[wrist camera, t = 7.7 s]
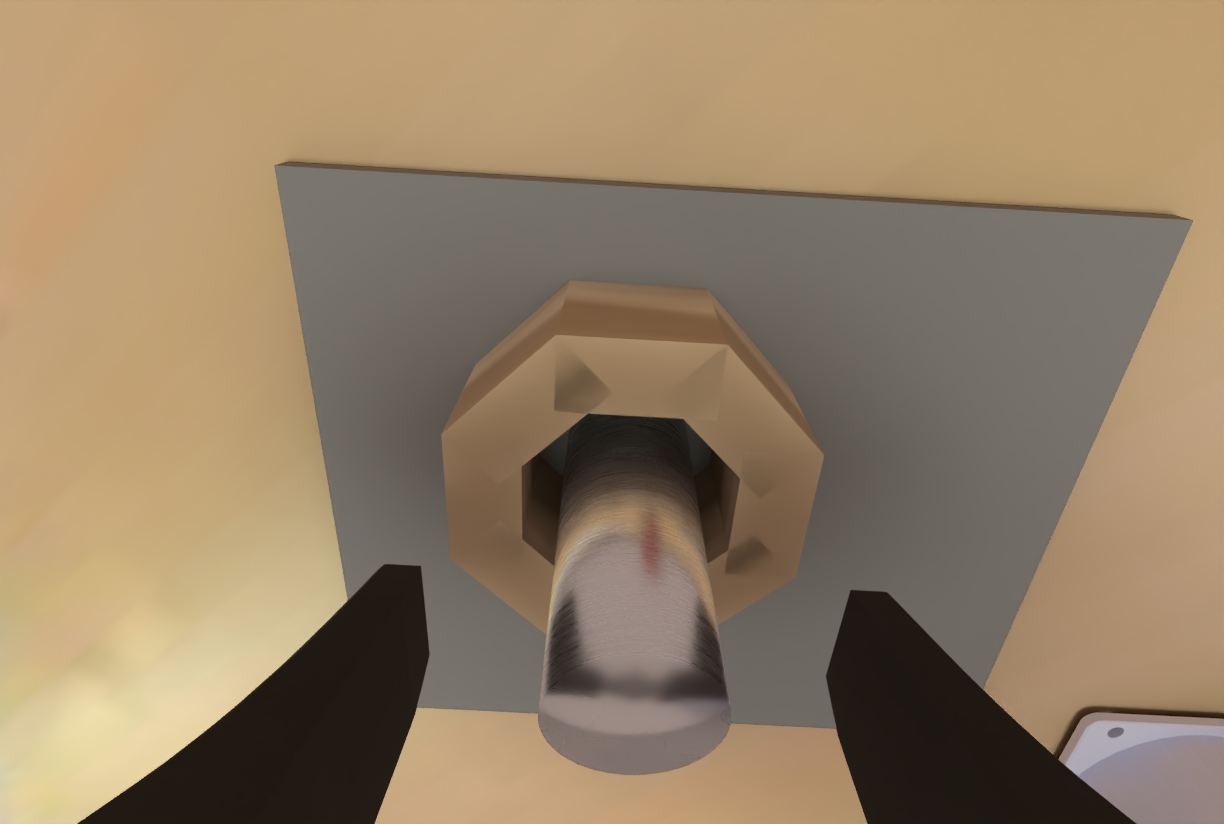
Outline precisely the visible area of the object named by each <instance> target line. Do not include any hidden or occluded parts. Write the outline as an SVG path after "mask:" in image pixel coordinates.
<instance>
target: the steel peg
mask: <svg viewBox="0 0 1224 824" xmlns="http://www.w3.org/2000/svg"><path fill="white" fill-rule="evenodd" d="M538 722H539V727H540V730H541V732H542V734H543V736H544V738H545V739H546V741H547V742H548V743H549V744H550V745H551V746H552V748H553V749H555V750H556V751H557V752H558V753H559V754H561V755H562V756H564V757H566V758H567V759H569V760H571V761H573V762H575V763H577V764H579V765H582V766H584V767H587V768H590V769H594V770H597V771H602V772H607V773H614V774H624V775H645V774H654V773H661V772H666V771H670V770H674V769H678V768H681V767H684V766H686V765H689V764H691V763H693V762H695V761H698V760H699V759H701V758H703V757H704V756H706V755H707V754H709V753H710V752H711V751H713V750H714V749H715V748H716V747H717V746H718V745H719V744H720V743H721V742H722V740H723V739H724V738H725V736H726V734H727V732H728V730H729V727H730V724H731V708H730V702H729V695H728V689H727V683H726V676H725V670H724V664H723V658H722V651H721V645H720V639H719V633H718V626H717V620H716V614H715V607H714V601H713V595H712V589H711V582H710V576H709V570H708V563H707V557H706V551H705V545H704V538H703V532H702V526H701V520H700V513H699V507H698V501H697V494H696V488H695V482H694V476H693V469H692V463H691V457H690V451H689V444H688V438H687V432H686V426H685V420H684V419H679V418H661V417H643V416H625V415H607V414H589V413H588V414H587V415H586V416H584V417H583V418H582V419H581V420H579V421H578V422H577V423H576V424H574V425H573V426H572V427H571V428H569V435H568V444H567V453H566V462H565V471H564V481H563V490H562V499H561V508H560V517H559V526H558V536H557V545H556V554H555V563H554V572H553V582H552V591H551V600H550V609H549V618H548V628H547V637H546V646H545V655H544V664H543V674H542V683H541V692H540V701H539V710H538Z"/></svg>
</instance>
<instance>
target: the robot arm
mask: <svg viewBox="0 0 1224 824" xmlns="http://www.w3.org/2000/svg"><path fill="white" fill-rule="evenodd" d="M429 656H430V652H429V642H428V632H427V622H426V612H425V601H424V591H423V581H422V571H421V566H413V565H395V564H384V565H383V566H382V567H380V568H379V569H378V570H377V571H376V572H375V573H374V574H373V575H372V576H371V577H370V578H369V579H368V580H367V581H366V582H365V583H364V584H363V586H362V587H361V588H360V589H359V590H358V591H357V592H356V593H355V594H354V595H353V596H352V597H351V598H350V599H349V600H348V601H347V602H346V603H345V604H344V605H343V606H342V607H341V608H340V609H339V610H338V611H337V612H336V613H335V614H334V615H333V616H332V617H331V618H330V619H329V620H328V621H327V622H326V623H325V624H324V625H323V626H322V627H321V628H320V629H319V630H318V631H317V632H316V633H315V634H314V635H313V636H312V637H311V638H310V639H309V640H308V641H307V642H306V643H305V644H304V645H303V646H302V647H301V648H300V649H299V650H298V651H297V652H295V653H294V654H293V655H292V656H291V657H290V658H289V659H288V660H287V661H286V662H285V663H284V664H283V665H282V666H281V667H280V668H278V669H277V670H276V671H275V672H274V673H273V674H272V675H271V676H269V677H268V678H267V679H266V680H265V681H264V682H263V683H261V684H260V685H259V686H258V687H257V688H256V689H255V690H254V691H252V692H251V693H250V694H249V695H248V696H247V697H246V698H245V699H243V700H242V701H241V702H240V703H239V704H238V705H237V706H235V707H234V708H233V709H232V710H231V711H229V712H228V713H227V714H226V715H225V716H223V717H222V718H221V719H220V720H219V721H217V722H216V723H215V724H214V725H212V726H211V727H210V728H209V729H208V730H206V731H205V732H204V733H203V734H201V735H200V736H199V737H197V738H196V739H195V740H194V741H192V742H191V743H190V744H188V745H187V746H186V747H185V748H183V749H182V750H181V751H179V752H178V753H177V754H176V755H174V756H173V757H172V758H170V759H169V760H168V761H166V762H165V763H164V764H162V765H161V766H159V767H158V768H157V769H155V770H154V771H152V772H151V773H150V774H148V775H147V776H145V777H144V778H143V779H141V780H140V781H139V782H137V783H136V784H134V785H133V786H131V787H130V788H128V789H127V790H126V791H124V792H123V793H121V794H120V795H118V796H117V797H115V798H114V799H113V800H111V801H110V802H108V803H107V804H105V805H104V806H102V807H101V808H99V809H98V810H97V811H95V812H94V813H92V814H91V815H89V816H88V817H86V818H85V819H84V820H82V821H80V822H79V823H77V824H374V823H375V821H376V818H377V815H378V813H379V810H380V807H381V805H382V802H383V799H384V797H385V794H386V791H387V789H388V786H389V783H390V781H391V778H392V775H393V773H394V770H395V767H396V765H397V762H398V759H399V756H400V754H401V751H402V748H403V746H404V743H405V740H406V737H407V735H408V732H409V729H410V727H411V724H412V721H413V718H414V715H415V712H416V708H417V704H418V701H419V697H420V693H421V689H422V685H423V681H424V676H425V672H426V668H427V664H428V660H429ZM826 680H827V685H828V690H829V695H830V700H831V705H832V710H833V715H834V719H835V724H836V728H837V732H838V737H839V740H840V743H841V746H842V749H843V752H844V755H845V758H846V761H847V764H848V767H849V770H850V773H851V776H852V779H853V782H854V785H855V788H856V791H857V794H858V797H859V800H860V803H861V806H862V809H863V812H864V814H865V817H866V820H867V823H868V824H1224V719H1218V718H1199V717H1179V716H1160V715H1140V714H1120V713H1101V712H1097V713H1091V714H1088V715H1086V716H1084V717H1083V718H1082V719H1081V720H1080V722H1079V724H1078V725H1077V727H1076V729H1075V731H1074V732H1073V734H1072V736H1071V738H1070V740H1069V741H1068V743H1067V745H1066V747H1065V748H1064V750H1063V752H1062V754H1061V756H1060V757H1059V759H1057V758H1056V757H1055V756H1054V755H1053V754H1051V753H1050V752H1049V751H1048V750H1047V749H1046V748H1045V747H1044V746H1043V745H1042V744H1040V743H1039V742H1038V741H1037V740H1036V739H1035V738H1034V737H1033V736H1032V735H1030V734H1029V733H1028V732H1027V731H1026V730H1025V729H1024V728H1023V727H1022V726H1021V725H1019V724H1018V723H1017V722H1016V721H1015V720H1014V719H1013V718H1012V717H1011V716H1010V715H1009V714H1008V713H1007V712H1006V711H1004V710H1003V709H1002V708H1001V707H1000V706H999V705H998V704H997V703H996V702H995V701H994V700H993V699H992V698H991V697H990V696H989V695H988V694H987V693H986V692H985V691H984V690H983V689H982V688H981V687H980V686H979V685H978V684H977V683H976V682H975V681H974V680H973V679H972V678H971V677H970V676H969V675H968V674H967V673H966V672H965V671H964V670H963V669H962V668H961V667H960V666H959V665H958V664H957V663H956V662H955V661H954V660H953V659H952V658H951V657H950V656H949V655H948V654H947V653H946V652H945V651H944V650H943V649H942V648H941V647H940V646H939V645H938V644H937V643H936V642H935V641H934V640H933V639H932V638H931V637H930V636H929V635H928V633H927V632H926V631H925V630H924V629H923V628H922V627H921V626H920V625H919V624H918V623H917V622H916V621H915V620H914V619H913V618H912V617H911V616H910V615H909V614H908V613H907V612H906V611H905V610H904V609H903V608H902V606H901V605H900V604H899V603H898V602H897V601H896V600H895V599H894V598H893V597H892V596H891V595H890V594H889V593H888V592H882V591H864V590H850V593H849V597H848V600H847V604H846V607H845V611H844V614H843V618H842V621H841V625H840V628H839V632H838V635H837V639H836V642H835V646H834V649H833V653H832V656H831V660H830V663H829V667H828V670H827V674H826Z"/></svg>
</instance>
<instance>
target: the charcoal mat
mask: <svg viewBox="0 0 1224 824" xmlns="http://www.w3.org/2000/svg"><path fill="white" fill-rule="evenodd" d="M274 166H275V172H276V178H277V184H278V190H279V195H280V201H281V207H282V213H283V219H284V225H285V231H286V237H287V243H288V249H289V255H290V260H291V266H292V272H293V278H294V284H295V290H296V296H297V302H298V308H299V314H300V320H301V325H302V331H303V337H304V343H305V349H306V355H307V361H308V367H309V373H310V379H311V385H312V390H313V396H314V402H315V408H316V414H317V420H318V426H319V432H320V438H321V444H322V450H323V455H324V461H325V467H326V473H327V479H328V485H329V491H330V497H331V503H332V509H333V515H334V520H335V526H336V532H337V538H338V544H339V550H340V556H341V562H342V568H343V574H344V580H345V585H346V591H347V597H348V600H349V599H350V598H351V597H352V596H353V595H354V594H355V593H356V592H357V591H358V590H359V589H360V588H361V587H362V586H363V584H364V583H365V582H366V581H367V580H368V579H369V578H370V577H371V576H372V575H373V574H374V573H375V572H376V571H377V570H378V569H379V568H380V567H382V566H383V565H384V564H395V565H413V566H421V571H422V581H423V591H424V601H425V612H426V622H427V632H428V642H429V652H430V656H429V660H428V664H427V668H426V672H425V676H424V681H423V685H422V689H421V693H420V697H419V701H418V704H417V707H419V708H439V709H459V710H478V711H498V712H518V713H538V710H539V701H540V692H541V683H542V674H543V664H544V655H545V646H546V637H547V635H546V634H544V633H543V632H542V631H541V630H539V629H538V628H537V627H535V626H534V625H533V624H532V623H530V622H529V621H528V620H527V619H525V618H524V617H523V616H522V615H520V614H519V613H518V612H516V611H515V610H514V609H513V608H511V607H510V606H509V605H508V604H506V603H505V602H504V601H503V600H501V599H500V598H499V597H497V596H496V595H495V594H494V593H492V592H491V591H490V590H489V589H487V588H486V587H485V586H484V585H482V584H481V583H480V582H479V581H477V580H476V579H475V578H473V577H472V576H471V575H470V574H468V573H467V572H466V571H465V570H463V569H462V568H461V567H460V566H458V565H457V564H456V563H454V562H453V561H452V560H451V559H450V548H449V534H448V521H447V507H446V493H445V479H444V466H443V452H442V438H441V433H442V431H443V429H444V427H445V425H446V423H447V421H448V419H449V417H450V415H451V413H452V411H453V409H454V407H455V405H456V403H457V401H458V399H459V397H460V395H461V393H462V391H463V389H464V387H465V385H466V383H467V381H468V379H469V377H470V374H471V372H472V370H473V368H474V366H475V364H477V363H478V362H479V361H480V360H481V359H482V358H483V357H484V356H485V355H487V354H488V353H489V352H490V351H491V350H492V349H493V348H494V347H495V346H497V345H498V344H499V343H500V342H501V341H502V340H503V339H504V338H506V337H507V336H508V335H509V334H510V333H511V332H512V331H513V330H514V329H516V328H517V327H518V326H519V325H520V324H521V323H522V322H523V321H524V320H526V319H527V318H528V317H529V316H530V315H531V314H532V313H533V312H535V311H536V310H537V309H538V308H539V307H540V306H541V305H542V304H543V303H545V302H546V301H547V300H548V299H549V298H550V297H551V296H552V295H554V294H555V293H556V292H557V291H558V290H559V289H560V288H561V287H562V286H564V285H565V284H566V283H567V282H568V281H569V280H573V281H590V282H607V283H624V284H642V285H659V286H676V287H693V288H707V289H708V290H709V291H710V292H711V294H712V295H713V296H714V297H715V298H716V299H717V301H718V302H719V303H720V304H721V305H722V306H723V308H724V309H725V310H726V311H727V312H728V314H729V315H730V316H731V317H732V318H733V319H734V321H735V322H736V323H737V324H738V325H739V326H740V328H741V329H742V330H743V331H744V332H745V333H746V335H747V336H748V337H749V338H750V339H751V341H752V342H753V343H754V344H755V345H756V346H757V348H758V349H759V350H760V351H761V352H762V353H763V355H764V356H765V357H766V358H767V359H768V360H769V362H770V363H771V364H772V365H773V366H774V368H775V369H776V370H777V371H778V372H779V373H780V375H781V376H782V377H783V378H784V379H785V380H786V382H787V383H788V385H789V387H790V389H791V391H792V393H793V395H794V397H795V399H796V401H797V403H798V405H799V407H800V409H801V410H802V412H803V414H804V416H805V418H806V420H807V422H808V424H809V426H810V428H811V430H812V432H813V434H814V436H815V438H816V440H817V442H818V444H819V446H820V448H821V450H822V452H823V454H824V459H823V463H822V467H821V472H820V476H819V480H818V484H817V489H816V493H815V497H814V501H813V506H812V510H811V514H810V518H809V523H808V527H807V531H806V535H805V540H804V544H803V548H802V552H801V557H800V561H799V565H798V569H797V573H796V578H794V579H792V580H791V581H789V582H787V583H786V584H784V585H783V586H781V587H779V588H778V589H776V590H774V591H773V592H771V593H769V594H768V595H766V596H764V597H763V598H761V599H760V600H758V601H756V602H755V603H753V604H751V605H750V606H748V607H746V608H745V609H743V610H742V611H740V612H738V613H737V614H735V615H733V616H732V617H730V618H728V619H727V620H725V621H723V622H722V623H720V624H719V625H717V626H718V633H719V639H720V645H721V651H722V658H723V664H724V670H725V676H726V683H727V689H728V695H729V702H730V708H731V723H735V724H755V725H775V726H795V727H814V728H834V729H837V728H836V724H835V719H834V715H833V710H832V705H831V700H830V695H829V690H828V685H827V680H826V674H827V670H828V667H829V663H830V660H831V656H832V653H833V649H834V646H835V642H836V639H837V635H838V632H839V628H840V625H841V621H842V618H843V614H844V611H845V607H846V604H847V600H848V597H849V593H850V590H864V591H882V592H888V593H889V594H890V595H891V596H892V597H893V598H894V599H895V600H896V601H897V602H898V603H899V604H900V605H901V606H902V608H903V609H904V610H905V611H906V612H907V613H908V614H909V615H910V616H911V617H912V618H913V619H914V620H915V621H916V622H917V623H918V624H919V625H920V626H921V627H922V628H923V629H924V630H925V631H926V632H927V633H928V635H929V636H930V637H931V638H932V639H933V640H934V641H935V642H936V643H937V644H938V645H939V646H940V647H941V648H942V649H943V650H944V651H945V652H946V653H947V654H948V655H949V656H950V657H951V658H952V659H953V660H954V661H955V662H956V663H957V664H958V665H959V666H960V667H961V668H962V669H963V670H964V671H965V672H966V673H967V674H968V675H969V676H970V677H971V678H972V679H973V680H974V681H975V682H976V683H977V684H978V685H979V686H980V687H981V688H982V689H983V688H984V686H985V683H986V681H987V679H988V677H989V675H990V672H991V670H992V668H993V666H994V663H995V661H996V659H997V657H998V654H999V652H1000V650H1001V648H1002V646H1003V643H1004V641H1005V639H1006V637H1007V634H1008V632H1009V630H1010V628H1011V625H1012V623H1013V621H1014V619H1015V617H1016V614H1017V612H1018V610H1019V608H1020V605H1021V603H1022V601H1023V599H1024V597H1025V594H1026V592H1027V590H1028V588H1029V585H1030V583H1031V581H1032V579H1033V576H1034V574H1035V572H1036V570H1037V568H1038V565H1039V563H1040V561H1041V559H1042V556H1043V554H1044V552H1045V550H1046V548H1047V545H1048V543H1049V541H1050V539H1051V536H1052V534H1053V532H1054V530H1055V527H1056V525H1057V523H1058V521H1059V519H1060V516H1061V514H1062V512H1063V510H1064V507H1065V505H1066V503H1067V501H1068V499H1069V496H1070V494H1071V492H1072V490H1073V487H1074V485H1075V483H1076V481H1077V478H1078V476H1079V474H1080V472H1081V470H1082V467H1083V465H1084V463H1085V461H1086V458H1087V456H1088V454H1089V452H1090V449H1091V447H1092V445H1093V443H1094V441H1095V438H1096V436H1097V434H1098V432H1099V429H1100V427H1101V425H1102V423H1103V421H1104V418H1105V416H1106V414H1107V412H1108V409H1109V407H1110V405H1111V403H1112V400H1113V398H1114V396H1115V394H1116V392H1117V389H1118V387H1119V385H1120V383H1121V380H1122V378H1123V376H1124V374H1125V372H1126V369H1127V367H1128V365H1129V363H1130V360H1131V358H1132V356H1133V354H1134V351H1135V349H1136V347H1137V345H1138V343H1139V340H1140V338H1141V336H1142V334H1143V331H1144V329H1145V327H1146V325H1147V322H1148V320H1149V318H1150V316H1151V314H1152V311H1153V309H1154V307H1155V305H1156V302H1157V300H1158V298H1159V296H1160V294H1161V291H1162V289H1163V287H1164V285H1165V282H1166V280H1167V278H1168V276H1169V273H1170V271H1171V269H1172V267H1173V265H1174V262H1175V260H1176V258H1177V256H1178V253H1179V251H1180V249H1181V247H1182V245H1183V242H1184V240H1185V238H1186V236H1187V233H1188V231H1189V229H1190V227H1191V224H1192V222H1193V220H1190V219H1186V218H1183V217H1179V216H1176V215H1167V214H1150V213H1134V212H1117V211H1100V210H1084V209H1067V208H1050V207H1033V206H1017V205H1000V204H983V203H967V202H950V201H933V200H916V199H900V198H883V197H866V196H850V195H833V194H816V193H799V192H783V191H766V190H749V189H733V188H716V187H699V186H682V185H666V184H649V183H632V182H616V181H599V180H582V179H565V178H549V177H532V176H515V175H499V174H482V173H465V172H449V171H432V170H415V169H398V168H382V167H365V166H348V165H332V164H315V163H298V162H285V163H281V164H278V165H274ZM685 426H686V432H687V438H688V444H689V451H690V457H691V463H692V469H693V476H695V475H696V474H698V473H699V472H701V471H702V470H704V469H705V468H706V467H708V466H709V465H710V461H711V454H712V448H711V447H710V446H709V445H708V444H707V443H706V442H705V441H704V440H703V439H702V438H701V437H700V436H699V435H698V434H697V433H696V432H695V431H694V430H693V429H692V427H691V426H690V425H689V424H688V423H687V422H686V421H685ZM568 435H569V429H568V430H567V431H566V432H564V433H563V434H562V435H561V436H559V437H558V438H557V439H556V440H554V441H553V442H552V443H551V444H549V445H548V446H547V447H546V448H544V449H543V450H542V451H541V452H540V456H541V457H542V458H543V459H544V460H545V461H546V462H548V463H549V464H550V465H551V466H552V467H553V468H554V469H555V470H556V471H557V472H558V473H560V474H561V475H562V476H563V477H564V471H565V462H566V453H567V444H568Z"/></svg>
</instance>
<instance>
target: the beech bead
mask: <svg viewBox="0 0 1224 824" xmlns="http://www.w3.org/2000/svg"><path fill="white" fill-rule="evenodd" d="M588 413H589V414H607V415H625V416H643V417H661V418H679V419H684V420H685V421H686V422H687V423H688V424H689V425H690V426H691V427H692V429H693V430H694V431H695V432H696V433H697V434H698V435H699V436H700V437H701V438H702V439H703V440H704V441H705V442H706V443H707V444H708V445H709V446H710V447H711V448H712V454H711V461H710V465H709V466H708V467H706V468H705V469H704V470H702V471H701V472H699V473H698V474H696V475H695V476H694V482H695V488H696V494H697V501H698V507H699V513H700V520H701V526H702V532H703V538H704V545H705V551H706V557H707V563H708V570H709V576H710V582H711V589H712V595H713V601H714V607H715V614H716V620H717V625H719V624H720V623H722V622H723V621H725V620H727V619H728V618H730V617H732V616H733V615H735V614H737V613H738V612H740V611H742V610H743V609H745V608H746V607H748V606H750V605H751V604H753V603H755V602H756V601H758V600H760V599H761V598H763V597H764V596H766V595H768V594H769V593H771V592H773V591H774V590H776V589H778V588H779V587H781V586H783V585H784V584H786V583H787V582H789V581H791V580H792V579H794V578H796V573H797V569H798V565H799V561H800V557H801V552H802V548H803V544H804V540H805V535H806V531H807V527H808V523H809V518H810V514H811V510H812V506H813V501H814V497H815V493H816V489H817V484H818V480H819V476H820V472H821V467H822V463H823V459H824V454H823V452H822V450H821V448H820V446H819V444H818V442H817V440H816V438H815V436H814V434H813V432H812V430H811V428H810V426H809V424H808V422H807V420H806V418H805V416H804V414H803V412H802V410H801V409H800V407H799V405H798V403H797V401H796V399H795V397H794V395H793V393H792V391H791V389H790V387H789V385H788V383H787V382H786V380H785V379H784V378H783V377H782V376H781V375H780V373H779V372H778V371H777V370H776V369H775V368H774V366H773V365H772V364H771V363H770V362H769V360H768V359H767V358H766V357H765V356H764V355H763V353H762V352H761V351H760V350H759V349H758V348H757V346H756V345H755V344H754V343H753V342H752V341H751V339H750V338H749V337H748V336H747V335H746V333H745V332H744V331H743V330H742V329H741V328H740V326H739V325H738V324H737V323H736V322H735V321H734V319H733V318H732V317H731V316H730V315H729V314H728V312H727V311H726V310H725V309H724V308H723V306H722V305H721V304H720V303H719V302H718V301H717V299H716V298H715V297H714V296H713V295H712V294H711V292H710V291H709V290H708V289H707V288H693V287H676V286H659V285H642V284H624V283H607V282H590V281H573V280H569V281H568V282H567V283H566V284H565V285H564V286H562V287H561V288H560V289H559V290H558V291H557V292H556V293H555V294H554V295H552V296H551V297H550V298H549V299H548V300H547V301H546V302H545V303H543V304H542V305H541V306H540V307H539V308H538V309H537V310H536V311H535V312H533V313H532V314H531V315H530V316H529V317H528V318H527V319H526V320H524V321H523V322H522V323H521V324H520V325H519V326H518V327H517V328H516V329H514V330H513V331H512V332H511V333H510V334H509V335H508V336H507V337H506V338H504V339H503V340H502V341H501V342H500V343H499V344H498V345H497V346H495V347H494V348H493V349H492V350H491V351H490V352H489V353H488V354H487V355H485V356H484V357H483V358H482V359H481V360H480V361H479V362H478V363H477V364H475V366H474V368H473V370H472V372H471V374H470V377H469V379H468V381H467V383H466V385H465V387H464V389H463V391H462V393H461V395H460V397H459V399H458V401H457V403H456V405H455V407H454V409H453V411H452V413H451V415H450V417H449V419H448V421H447V423H446V425H445V427H444V429H443V431H442V433H441V438H442V452H443V466H444V479H445V493H446V507H447V521H448V534H449V548H450V559H451V560H452V561H453V562H454V563H456V564H457V565H458V566H460V567H461V568H462V569H463V570H465V571H466V572H467V573H468V574H470V575H471V576H472V577H473V578H475V579H476V580H477V581H479V582H480V583H481V584H482V585H484V586H485V587H486V588H487V589H489V590H490V591H491V592H492V593H494V594H495V595H496V596H497V597H499V598H500V599H501V600H503V601H504V602H505V603H506V604H508V605H509V606H510V607H511V608H513V609H514V610H515V611H516V612H518V613H519V614H520V615H522V616H523V617H524V618H525V619H527V620H528V621H529V622H530V623H532V624H533V625H534V626H535V627H537V628H538V629H539V630H541V631H542V632H543V633H544V634H546V635H547V628H548V618H549V609H550V600H551V591H552V582H553V572H554V563H555V554H556V545H557V536H558V526H559V517H560V508H561V499H562V490H563V481H564V477H563V476H562V475H561V474H560V473H558V472H557V471H556V470H555V469H554V468H553V467H552V466H551V465H550V464H549V463H548V462H546V461H545V460H544V459H543V458H542V457H541V456H540V452H541V451H542V450H543V449H544V448H546V447H547V446H548V445H549V444H551V443H552V442H553V441H554V440H556V439H557V438H558V437H559V436H561V435H562V434H563V433H564V432H566V431H567V430H568V429H569V428H571V427H572V426H573V425H574V424H576V423H577V422H578V421H579V420H581V419H582V418H583V417H584V416H586V415H587V414H588Z"/></svg>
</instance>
